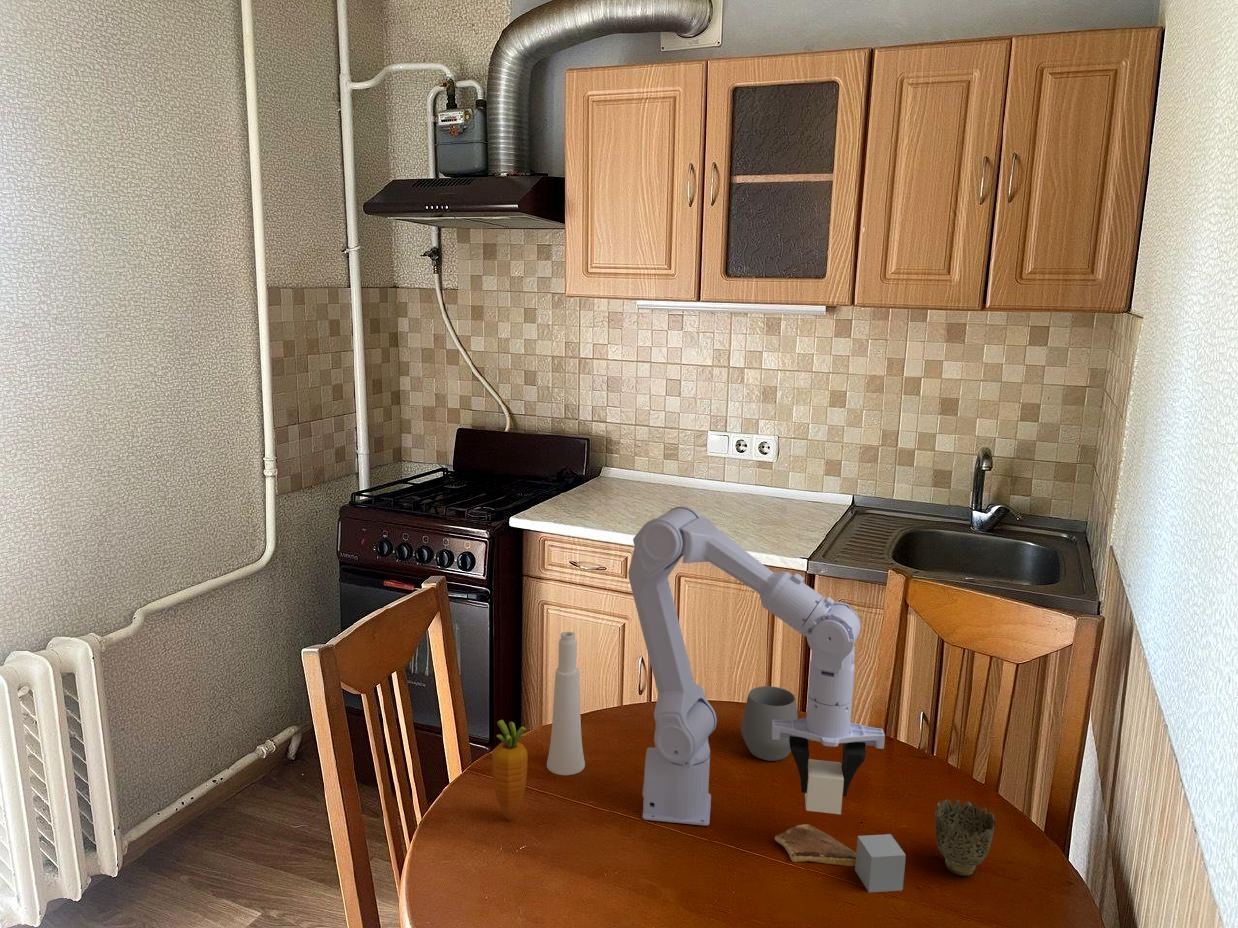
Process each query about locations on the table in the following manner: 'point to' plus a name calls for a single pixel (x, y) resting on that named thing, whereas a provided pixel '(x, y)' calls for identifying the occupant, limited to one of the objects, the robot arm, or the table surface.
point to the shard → (815, 846)
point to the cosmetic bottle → (566, 713)
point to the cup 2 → (963, 835)
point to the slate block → (880, 863)
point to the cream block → (824, 786)
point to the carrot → (509, 769)
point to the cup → (767, 721)
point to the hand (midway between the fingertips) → (823, 790)
